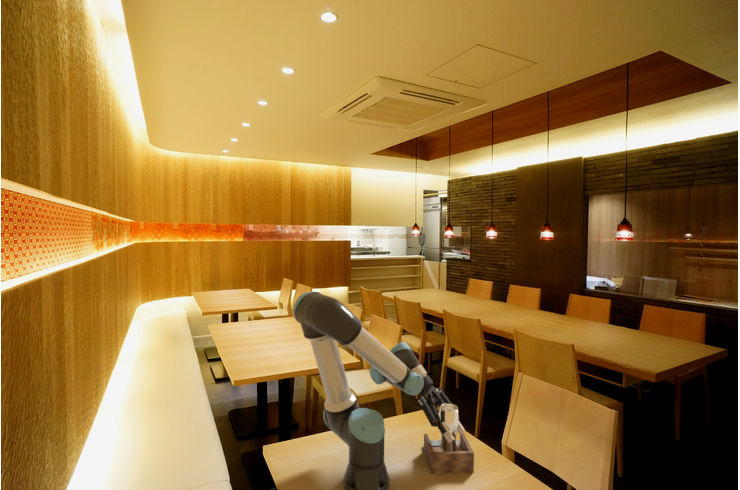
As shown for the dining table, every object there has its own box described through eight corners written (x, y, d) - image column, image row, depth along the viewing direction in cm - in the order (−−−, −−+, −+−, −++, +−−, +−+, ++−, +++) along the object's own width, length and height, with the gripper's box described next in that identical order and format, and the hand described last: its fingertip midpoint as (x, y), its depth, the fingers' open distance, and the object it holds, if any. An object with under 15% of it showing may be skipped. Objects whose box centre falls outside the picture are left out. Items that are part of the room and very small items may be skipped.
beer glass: (435, 443, 147) (435, 404, 146) (451, 440, 149) (452, 402, 148) (444, 454, 140) (444, 413, 139) (461, 451, 142) (462, 410, 141)
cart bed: (430, 473, 137) (431, 454, 137) (421, 445, 154) (422, 428, 154) (473, 472, 138) (474, 452, 138) (459, 444, 155) (460, 427, 154)
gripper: (428, 377, 161) (463, 430, 151) (398, 393, 146) (435, 453, 136) (439, 367, 157) (476, 421, 147) (410, 383, 142) (449, 444, 132)
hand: (457, 436), depth 142 cm, fingers closed on beer glass, 7 cm apart
